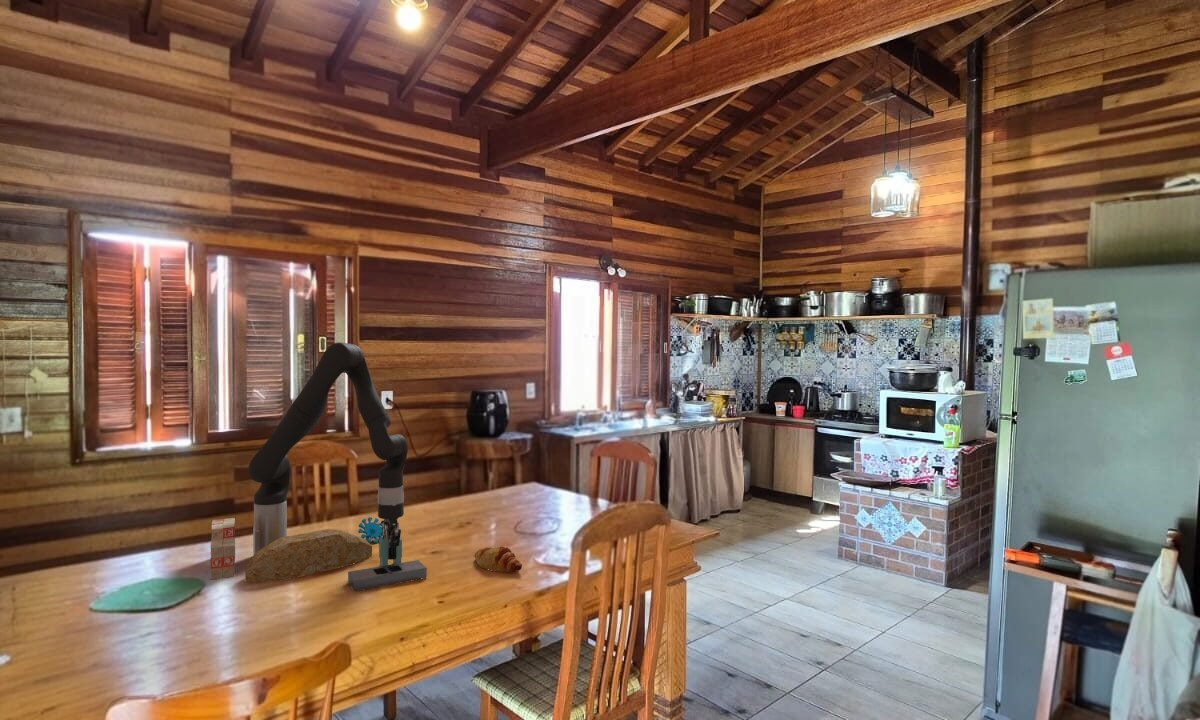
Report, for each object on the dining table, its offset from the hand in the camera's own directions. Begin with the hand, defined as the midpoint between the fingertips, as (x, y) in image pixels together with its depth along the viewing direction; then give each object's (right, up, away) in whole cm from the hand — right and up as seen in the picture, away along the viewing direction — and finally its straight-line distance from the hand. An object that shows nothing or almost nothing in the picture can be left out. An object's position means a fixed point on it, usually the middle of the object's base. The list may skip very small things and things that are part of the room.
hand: (390, 557), depth 203 cm
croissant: (+33, -3, +1) cm, 33 cm away
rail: (+3, -3, -12) cm, 13 cm away
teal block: (0, -3, 0) cm, 3 cm away
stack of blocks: (-49, -3, -2) cm, 50 cm away
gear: (-14, -2, +25) cm, 29 cm away
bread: (-23, -3, -2) cm, 23 cm away
